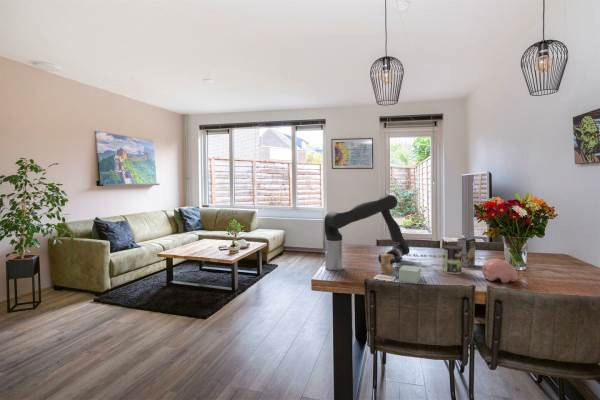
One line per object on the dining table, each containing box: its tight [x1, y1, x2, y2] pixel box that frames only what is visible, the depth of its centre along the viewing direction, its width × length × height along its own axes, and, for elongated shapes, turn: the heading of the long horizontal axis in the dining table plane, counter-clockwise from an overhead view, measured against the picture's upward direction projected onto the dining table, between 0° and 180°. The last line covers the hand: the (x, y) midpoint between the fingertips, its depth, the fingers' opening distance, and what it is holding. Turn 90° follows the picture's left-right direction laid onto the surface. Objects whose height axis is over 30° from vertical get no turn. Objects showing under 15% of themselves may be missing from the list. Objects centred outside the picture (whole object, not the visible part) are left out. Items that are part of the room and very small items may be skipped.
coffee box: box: [456, 236, 476, 268], centre depth 193 cm, size 9×6×16 cm
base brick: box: [398, 264, 422, 284], centre depth 168 cm, size 9×9×6 cm
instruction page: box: [372, 274, 397, 282], centre depth 171 cm, size 10×8×1 cm
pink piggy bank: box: [481, 258, 518, 284], centre depth 164 cm, size 16×13×12 cm
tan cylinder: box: [380, 253, 394, 275], centre depth 181 cm, size 5×5×10 cm
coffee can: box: [441, 244, 462, 275], centre depth 181 cm, size 10×10×14 cm
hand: (385, 262), depth 178 cm, fingers closed on tan cylinder, 5 cm apart
